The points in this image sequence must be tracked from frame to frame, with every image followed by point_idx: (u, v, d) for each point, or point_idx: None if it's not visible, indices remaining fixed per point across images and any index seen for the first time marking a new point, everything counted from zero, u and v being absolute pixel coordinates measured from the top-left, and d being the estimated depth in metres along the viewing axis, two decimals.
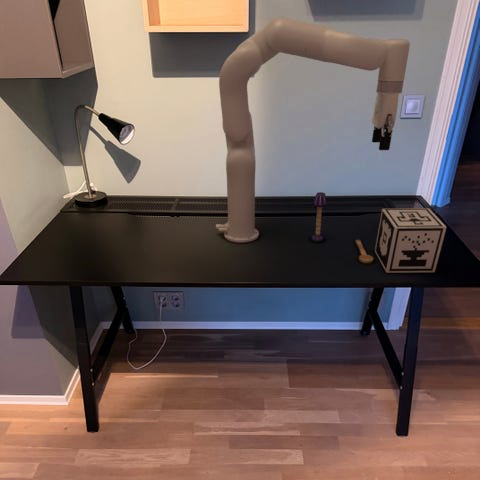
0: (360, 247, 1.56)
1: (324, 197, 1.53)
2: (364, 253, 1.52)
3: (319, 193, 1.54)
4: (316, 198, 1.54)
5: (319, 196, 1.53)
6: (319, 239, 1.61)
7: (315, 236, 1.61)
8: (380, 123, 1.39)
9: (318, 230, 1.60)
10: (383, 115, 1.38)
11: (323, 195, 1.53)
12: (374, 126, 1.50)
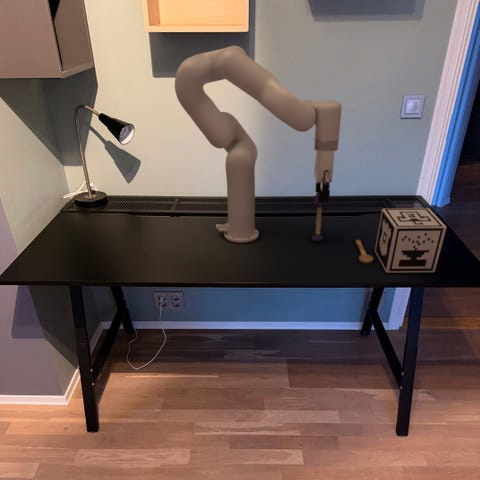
0: (360, 247, 1.56)
1: None
2: (364, 253, 1.52)
3: (319, 193, 1.54)
4: (316, 198, 1.54)
5: None
6: (319, 239, 1.61)
7: (315, 236, 1.61)
8: (318, 178, 1.46)
9: (318, 230, 1.60)
10: (320, 171, 1.45)
11: None
12: None
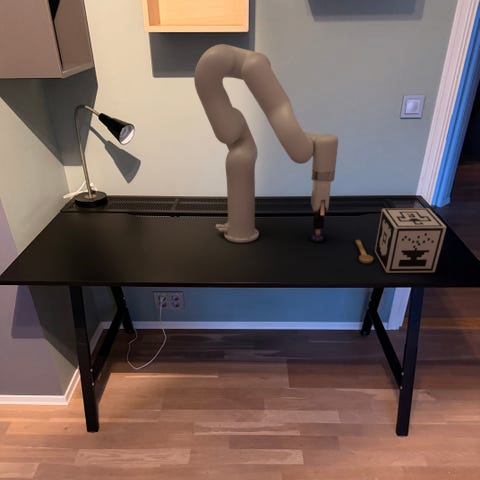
0: (360, 247, 1.56)
1: None
2: (364, 253, 1.52)
3: None
4: None
5: None
6: (319, 239, 1.61)
7: (315, 236, 1.61)
8: (315, 207, 1.51)
9: (318, 230, 1.60)
10: (317, 200, 1.50)
11: None
12: None
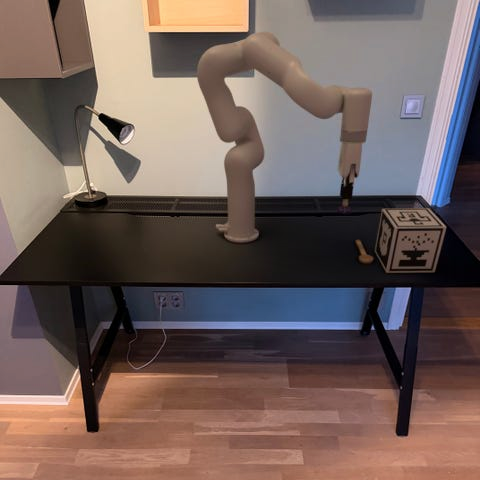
0: (360, 247, 1.56)
1: None
2: (364, 253, 1.52)
3: None
4: None
5: None
6: (347, 211, 1.44)
7: (342, 207, 1.44)
8: (344, 173, 1.34)
9: (346, 200, 1.43)
10: (347, 165, 1.33)
11: None
12: (342, 180, 1.42)
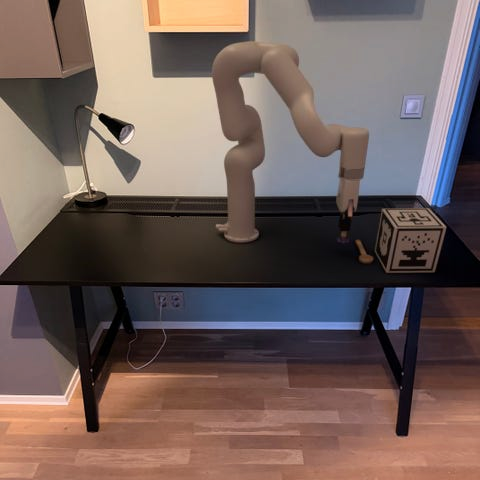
0: (360, 247, 1.56)
1: None
2: (364, 253, 1.52)
3: None
4: None
5: None
6: (345, 242, 1.49)
7: (341, 238, 1.49)
8: (342, 207, 1.39)
9: (344, 232, 1.48)
10: (345, 200, 1.38)
11: None
12: (340, 213, 1.47)
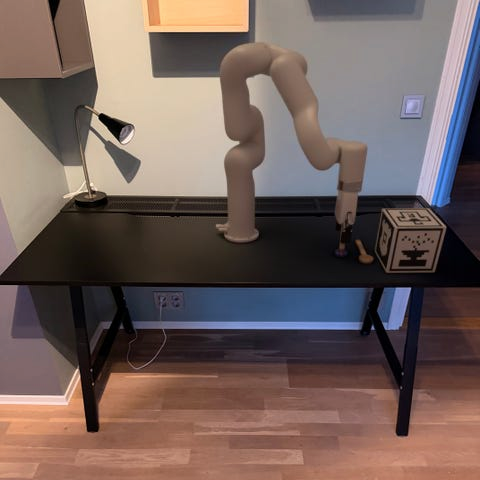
0: (360, 247, 1.56)
1: None
2: (364, 253, 1.52)
3: None
4: None
5: None
6: (343, 254, 1.51)
7: (339, 251, 1.52)
8: (340, 219, 1.41)
9: (342, 244, 1.50)
10: (343, 213, 1.40)
11: None
12: None
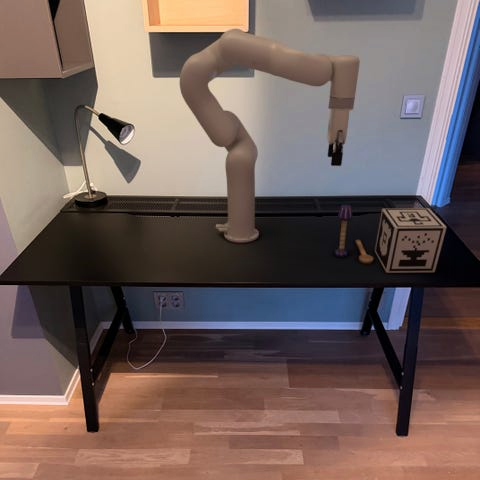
0: (360, 247, 1.56)
1: (350, 210, 1.44)
2: (364, 253, 1.52)
3: (344, 206, 1.44)
4: (341, 211, 1.44)
5: (345, 209, 1.43)
6: (343, 254, 1.51)
7: (339, 251, 1.52)
8: (331, 139, 1.39)
9: (342, 244, 1.50)
10: (334, 131, 1.37)
11: (349, 208, 1.43)
12: None
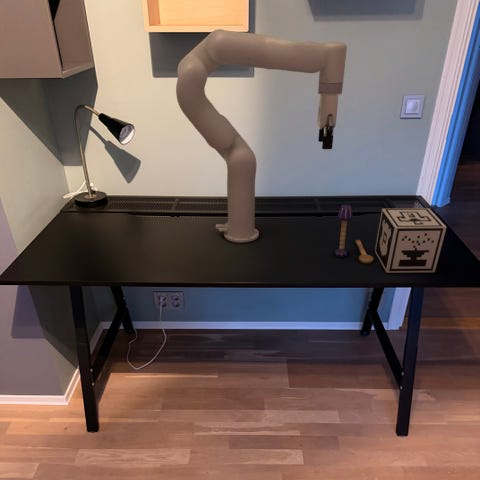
0: (360, 247, 1.56)
1: (350, 210, 1.44)
2: (364, 253, 1.52)
3: (344, 206, 1.44)
4: (341, 211, 1.44)
5: (345, 209, 1.43)
6: (343, 254, 1.51)
7: (339, 251, 1.52)
8: (322, 123, 1.44)
9: (342, 244, 1.50)
10: (324, 115, 1.43)
11: (349, 208, 1.43)
12: None
